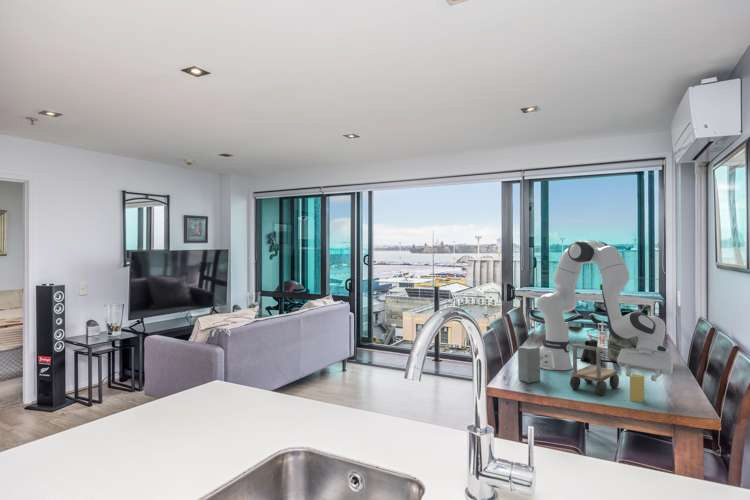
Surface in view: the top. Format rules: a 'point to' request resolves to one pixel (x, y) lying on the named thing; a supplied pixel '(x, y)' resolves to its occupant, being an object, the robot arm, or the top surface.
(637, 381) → the yellow rectangular block
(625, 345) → the lunch bag
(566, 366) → the robot arm
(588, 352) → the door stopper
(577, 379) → the trolley
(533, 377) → the gray hexagonal prism
